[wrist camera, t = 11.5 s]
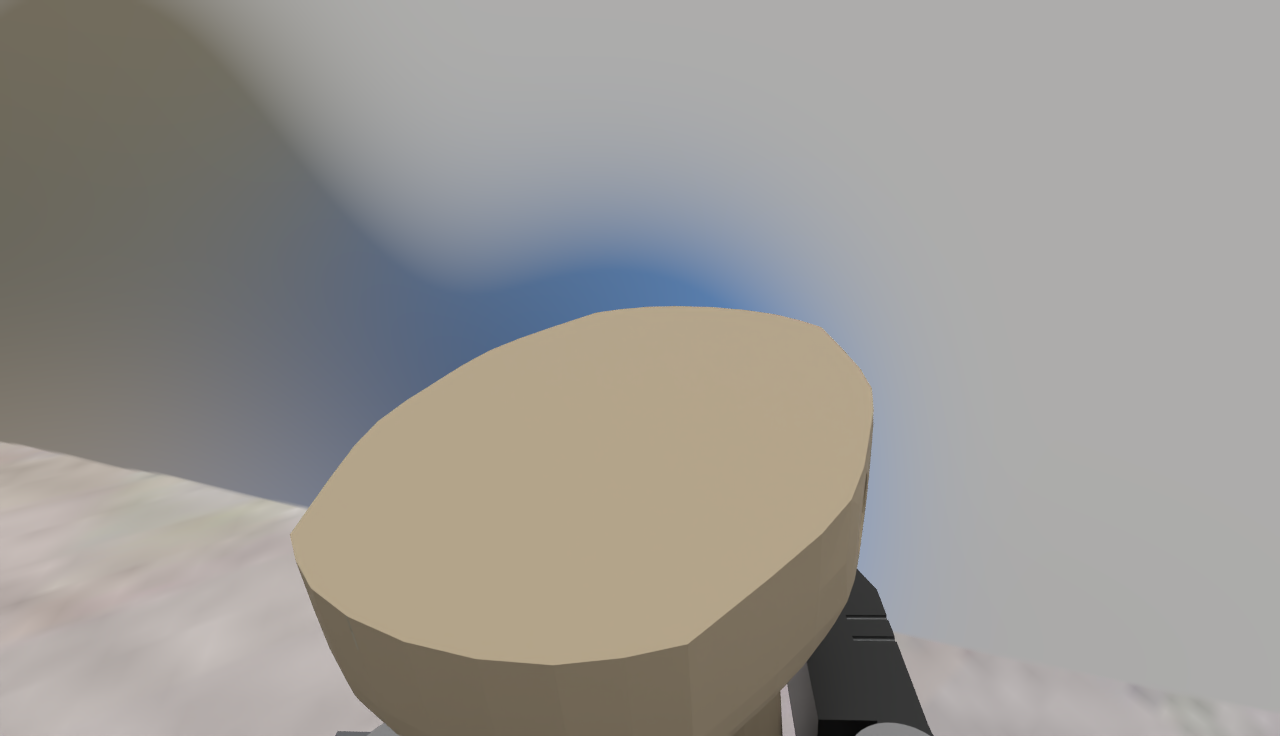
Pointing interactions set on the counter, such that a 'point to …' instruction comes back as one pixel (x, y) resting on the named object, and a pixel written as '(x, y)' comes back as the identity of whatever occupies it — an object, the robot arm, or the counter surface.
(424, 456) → the handle
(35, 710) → the counter surface
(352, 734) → the tray
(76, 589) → the counter surface
